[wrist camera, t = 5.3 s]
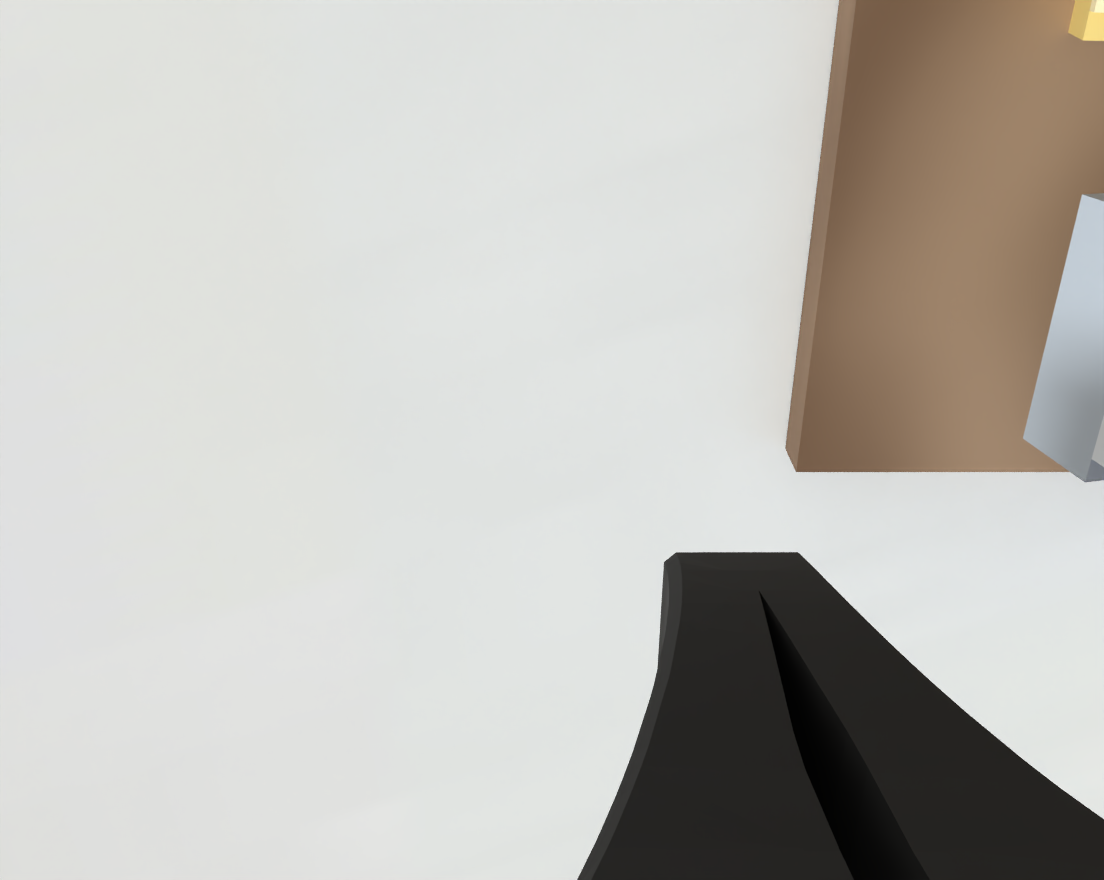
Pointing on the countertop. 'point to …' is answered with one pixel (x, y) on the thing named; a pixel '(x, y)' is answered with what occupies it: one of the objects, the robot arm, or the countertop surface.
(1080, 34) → the yellow rectangular block
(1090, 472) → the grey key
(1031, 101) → the walnut board
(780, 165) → the countertop surface
